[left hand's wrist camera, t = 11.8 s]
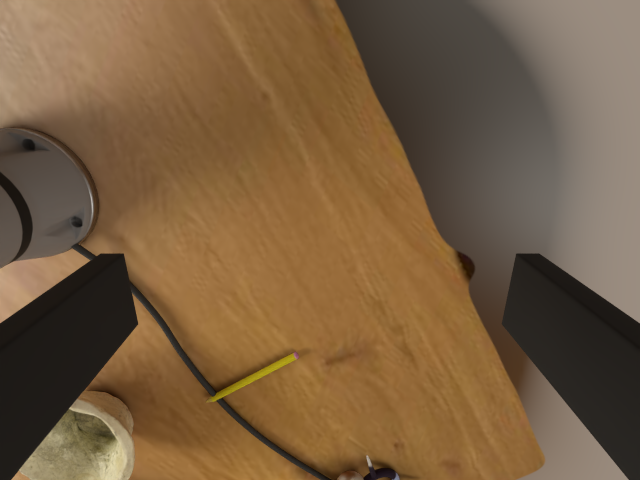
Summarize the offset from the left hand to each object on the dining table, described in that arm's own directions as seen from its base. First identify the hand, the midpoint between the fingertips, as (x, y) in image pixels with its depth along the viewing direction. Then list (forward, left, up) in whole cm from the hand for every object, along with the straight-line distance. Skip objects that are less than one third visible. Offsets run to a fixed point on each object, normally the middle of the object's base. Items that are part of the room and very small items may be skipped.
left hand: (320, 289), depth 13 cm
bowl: (-25, +44, -32) cm, 60 cm away
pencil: (-27, +20, -32) cm, 47 cm away
